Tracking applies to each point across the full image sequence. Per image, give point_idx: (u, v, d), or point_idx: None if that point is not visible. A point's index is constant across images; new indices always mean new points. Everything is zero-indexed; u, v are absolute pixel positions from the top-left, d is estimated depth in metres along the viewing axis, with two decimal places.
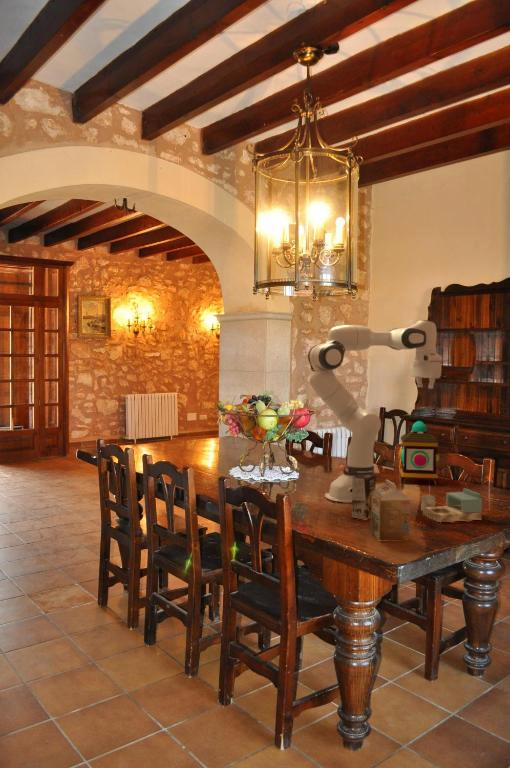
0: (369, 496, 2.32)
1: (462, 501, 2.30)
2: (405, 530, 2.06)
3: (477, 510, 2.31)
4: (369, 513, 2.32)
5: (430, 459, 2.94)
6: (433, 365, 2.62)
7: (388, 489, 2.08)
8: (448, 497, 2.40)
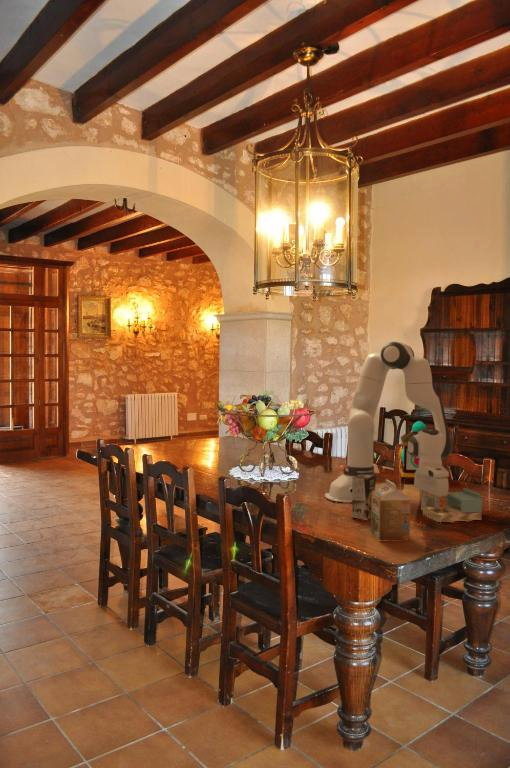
0: (369, 496, 2.32)
1: (462, 501, 2.30)
2: (405, 530, 2.06)
3: (477, 510, 2.31)
4: (369, 513, 2.32)
5: None
6: (439, 483, 2.35)
7: (388, 489, 2.08)
8: (448, 497, 2.40)
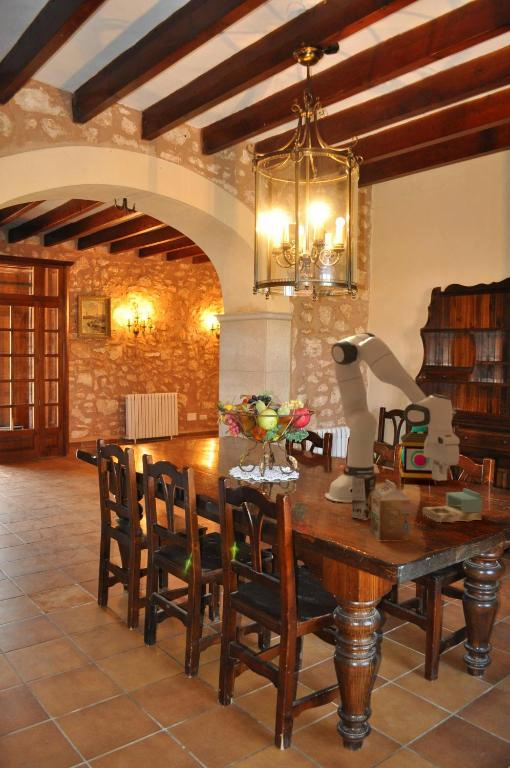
0: (369, 496, 2.32)
1: (462, 501, 2.30)
2: (405, 530, 2.06)
3: (477, 510, 2.31)
4: (369, 513, 2.32)
5: (430, 459, 2.94)
6: (449, 450, 2.23)
7: (388, 489, 2.08)
8: (448, 497, 2.40)
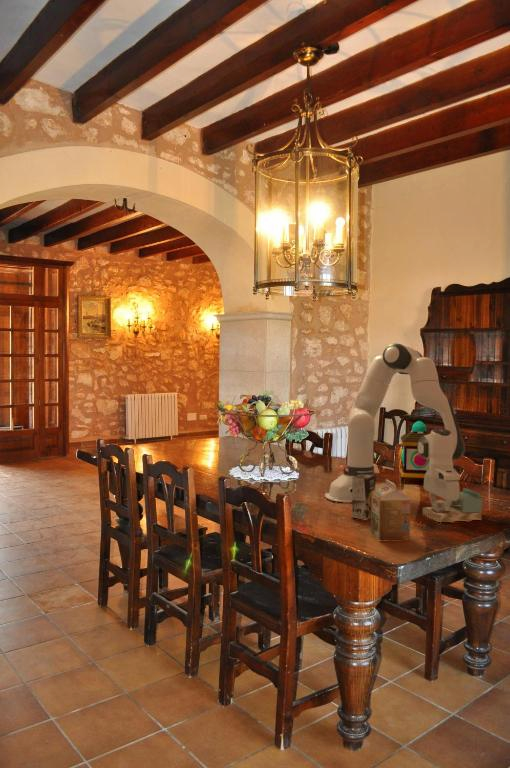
0: (369, 496, 2.32)
1: (462, 501, 2.30)
2: (405, 530, 2.06)
3: (477, 510, 2.31)
4: (369, 513, 2.32)
5: None
6: (450, 486, 2.24)
7: (388, 489, 2.08)
8: None
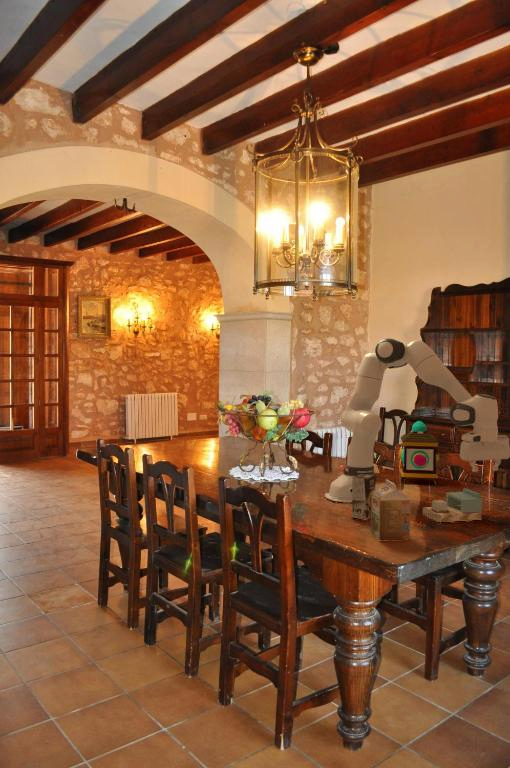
0: (369, 496, 2.32)
1: (462, 501, 2.30)
2: (405, 530, 2.06)
3: (477, 510, 2.31)
4: (369, 513, 2.32)
5: (430, 459, 2.94)
6: (461, 445, 2.36)
7: (388, 489, 2.08)
8: (448, 497, 2.40)
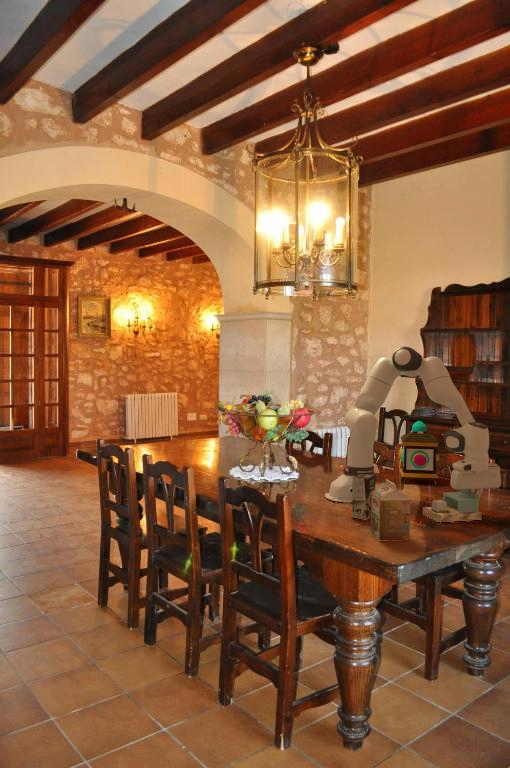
0: (369, 496, 2.32)
1: (459, 501, 2.30)
2: (405, 530, 2.06)
3: (474, 510, 2.31)
4: (369, 513, 2.32)
5: (430, 459, 2.94)
6: (452, 473, 2.36)
7: (388, 489, 2.08)
8: (445, 497, 2.40)
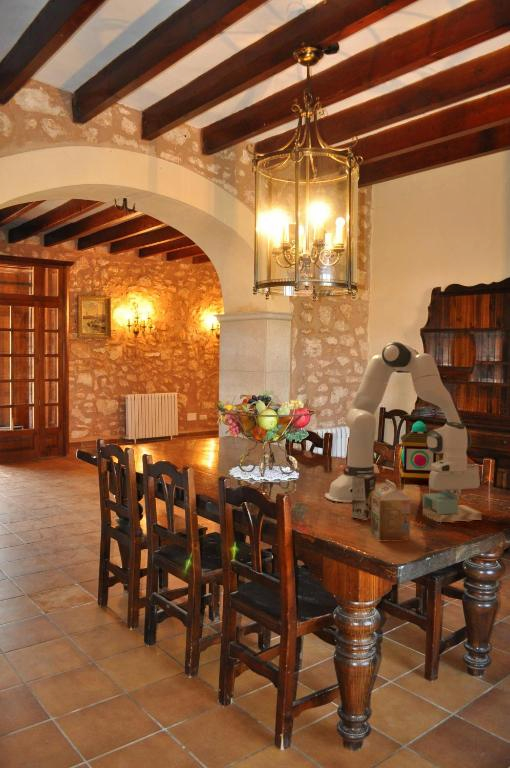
0: (369, 496, 2.32)
1: (438, 502, 2.28)
2: (405, 530, 2.06)
3: (453, 511, 2.29)
4: (369, 513, 2.32)
5: (430, 459, 2.94)
6: (430, 474, 2.34)
7: (388, 489, 2.08)
8: (425, 498, 2.38)
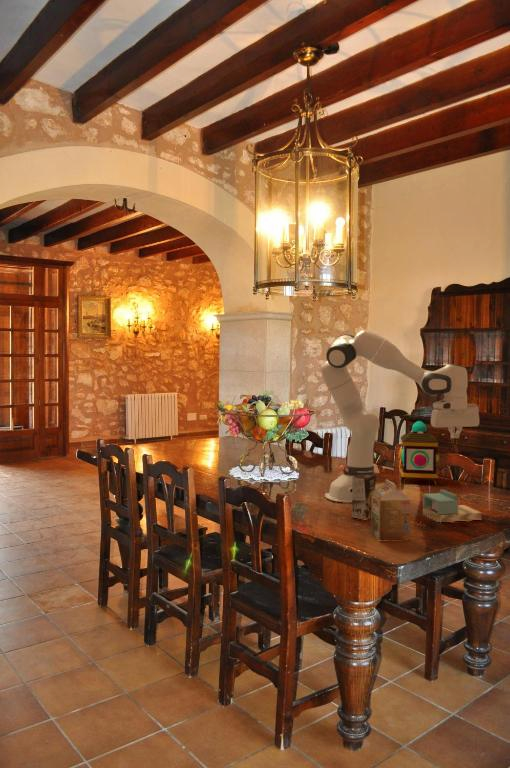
0: (369, 496, 2.32)
1: (438, 502, 2.28)
2: (405, 530, 2.06)
3: (453, 511, 2.29)
4: (369, 513, 2.32)
5: (430, 459, 2.94)
6: (432, 412, 2.46)
7: (388, 489, 2.08)
8: (425, 498, 2.38)
